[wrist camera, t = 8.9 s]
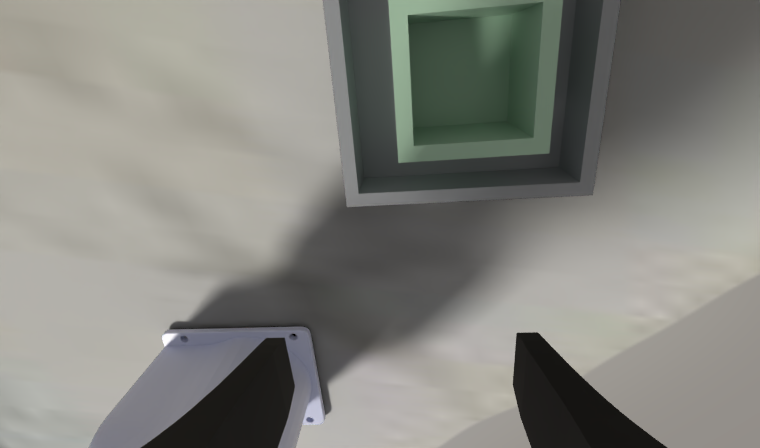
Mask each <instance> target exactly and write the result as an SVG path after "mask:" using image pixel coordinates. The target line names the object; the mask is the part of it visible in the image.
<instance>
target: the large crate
mask: <svg viewBox="0 0 760 448" xmlns="http://www.w3.org/2000/svg"><path fill="white" fill-rule="evenodd" d="M620 3H621V0H563V7H562V18H561V29H560V40H559V51H558V62H557V74H556V85H555V96H554V107H553V118H552V129H551V140H550V151H549V154H533V155H517V156H501V157H485V158H469V159H453V160H437V161H421V162H405V163H398V147H397V131H396V115H395V99H394V83H393V67H392V51H391V35H390V19H389V3H388V0H323V7H324V16H325V24H326V33H327V42H328V50H329V59H330V67H331V76H332V85H333V93H334V102H335V110H336V119H337V128H338V136H339V145H340V154H341V162H342V171H343V179H344V188H345V197H346V205H347V207H360V206H380V205H400V204H420V203H441V202H461V201H481V200H502V199H522V198H542V197H563V196H583V195H593V190H594V184H595V177H596V170H597V163H598V156H599V149H600V142H601V135H602V128H603V121H604V114H605V107H606V100H607V93H608V86H609V79H610V72H611V65H612V58H613V51H614V45H615V38H616V31H617V24H618V17H619V10H620Z"/></svg>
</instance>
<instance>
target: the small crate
mask: <svg viewBox="0 0 760 448" xmlns="http://www.w3.org/2000/svg"><path fill="white" fill-rule="evenodd" d="M388 3H389V19H390V35H391V51H392V67H393V83H394V99H395V115H396V131H397V147H398V163H405V162H421V161H437V160H453V159H469V158H485V157H501V156H517V155H533V154H549V151H550V140H551V129H552V118H553V107H554V96H555V85H556V74H557V62H558V51H559V40H560V29H561V18H562V7H563V0H388Z"/></svg>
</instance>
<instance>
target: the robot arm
mask: <svg viewBox="0 0 760 448" xmlns="http://www.w3.org/2000/svg"><path fill="white" fill-rule="evenodd" d="M292 333H293V334H296V335H297V336H293V335H292ZM184 336H186V337H187V338H186V337H184ZM162 341H163V343H164V346H165V347H164V349H163V350H162V351H161V352H160V353H159V355H158V356H157V357H156V358H155V359H154V361H153V362H152V363H151V364H150V365H149V367H148V368H147V369H146V370H145V371H144V373H143V374H142V375H141V376H140V377H139V379H138V380H137V381H136V382H135V383H134V385H133V386H132V387H131V388H130V389H129V391H128V392H127V393H126V394H125V396H124V397H123V398H122V399H121V400H120V402H119V403H118V404H117V405H116V406H115V408H114V409H113V410H112V411H111V412H110V414H109V415H108V416H107V417H106V418H105V420H104V421H103V423H102V424H101V425H100V427H99V429H98V430H97V432H96V434H95V435H94V437H93V439H92V442H91V444H90V446H89V448H296V445H297V441H298V438H299V434H300V431H301V427H302V425H319V424H322V423H323V422H324V421H325V411H324V405H323V400H322V394H321V388H320V383H319V377H318V372H317V366H316V360H315V355H314V349H313V344H312V338H311V333H310V330H309V329H308V328H306V327H260V328H216V329H171V330H167V331H165V332H164V334H163V335H162ZM513 387H514V392H515V396H516V400H517V404H518V408H519V412H520V416H521V420H522V423H523V425H524V428H525V431H526V433H527V436H528V439H529V442H530V445H531V448H667V447H666V446H664V445H663V444H661V443H660V442H659V441H657V440H656V439H655V438H653V437H652V436H651V435H649V434H648V433H647V432H645V431H644V430H643V429H641V428H640V427H639V426H637V425H636V424H635V423H634V422H632V421H631V420H629V418H627V417H626V416H625V415H624V414H622V413H621V412H620V411H619V410H618V409H616V408H615V407H614V406H613V405H612V404H611V403H609V402H608V401H607V400H606V399H605V398H604V397H603V396H602V395H600V394H599V393H598V392H597V391H596V390H595V389H594V388H593V387H592V386H591V385H589V383H588V382H586V381H585V380H584V379H583V378H582V377H581V376H580V375H579V374H578V373H577V372H576V371H575V370H574V369H573V368H572V367H571V366H570V365H569V364H568V363H567V362H566V361H565V360H564V359H563V358H562V357H561V356H560V355H559V354H558V353H557V352H556V351H555V350H554V349H553V348H552V347H551V346H550V345H549V343H548V342H547V341H546V340H545V339H544V338H543V337H542V336H541V335H540V334H539V333H517V336H516V350H515V363H514V376H513ZM310 417H311V418H310Z"/></svg>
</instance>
